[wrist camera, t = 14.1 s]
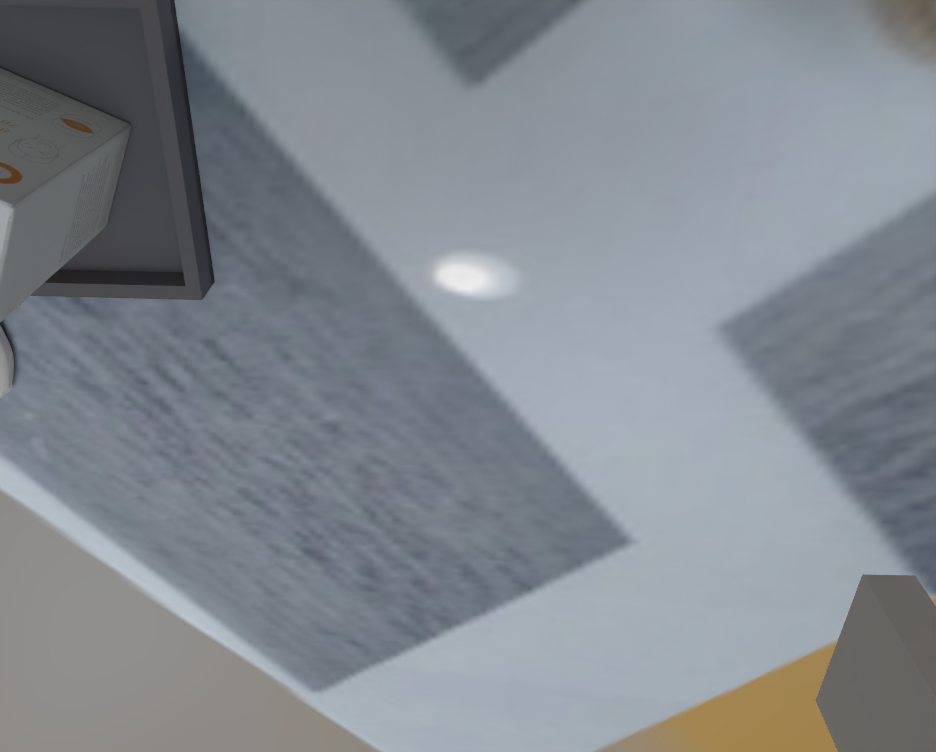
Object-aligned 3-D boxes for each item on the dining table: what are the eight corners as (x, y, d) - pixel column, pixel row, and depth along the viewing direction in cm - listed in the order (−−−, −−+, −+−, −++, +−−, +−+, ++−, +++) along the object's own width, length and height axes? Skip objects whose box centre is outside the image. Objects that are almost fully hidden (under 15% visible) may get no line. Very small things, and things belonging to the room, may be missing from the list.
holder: (-153, -25, 39) (-189, -21, 37) (171, -15, 39) (154, -11, 37) (-55, 275, 46) (-81, 293, 44) (214, 281, 47) (202, 299, 45)
